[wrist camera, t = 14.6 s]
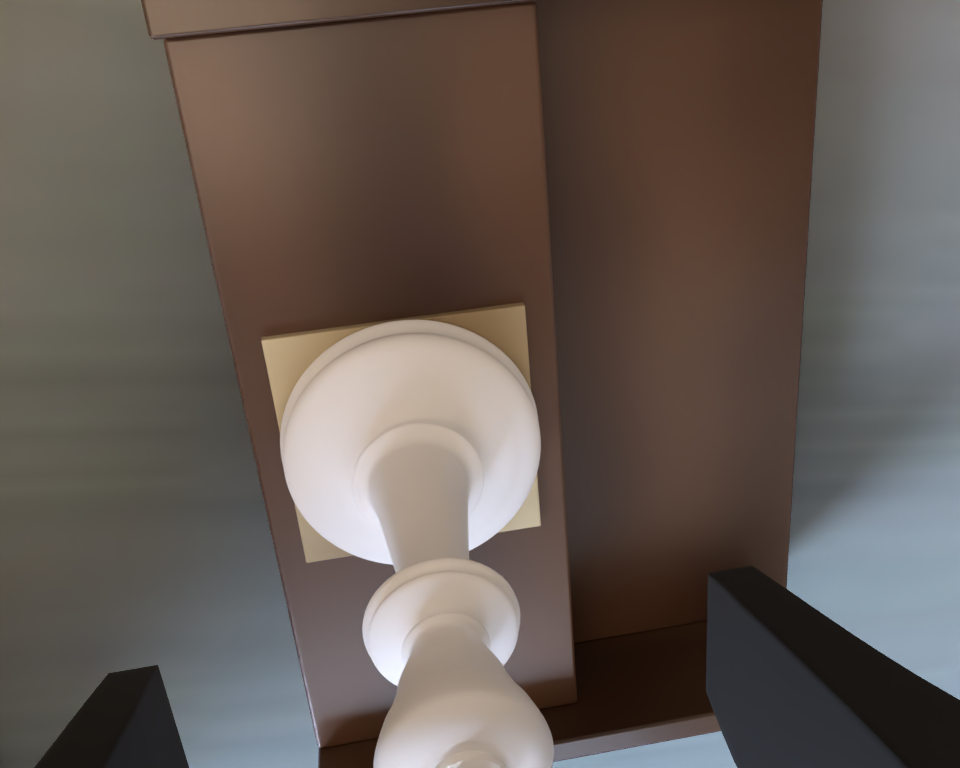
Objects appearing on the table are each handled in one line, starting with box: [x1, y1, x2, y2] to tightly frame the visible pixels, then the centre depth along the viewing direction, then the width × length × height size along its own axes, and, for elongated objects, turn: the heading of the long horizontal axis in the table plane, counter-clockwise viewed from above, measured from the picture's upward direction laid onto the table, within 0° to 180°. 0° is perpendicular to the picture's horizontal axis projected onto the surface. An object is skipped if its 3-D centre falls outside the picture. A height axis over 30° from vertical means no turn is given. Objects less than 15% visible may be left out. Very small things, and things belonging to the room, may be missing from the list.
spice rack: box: [141, 0, 823, 768], centre depth 19 cm, size 12×16×5 cm
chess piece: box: [280, 320, 554, 768], centre depth 13 cm, size 5×5×10 cm
